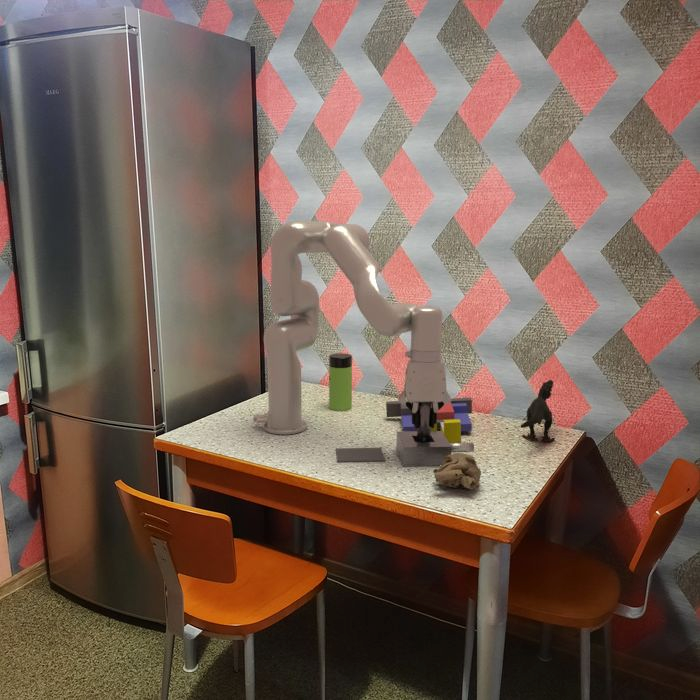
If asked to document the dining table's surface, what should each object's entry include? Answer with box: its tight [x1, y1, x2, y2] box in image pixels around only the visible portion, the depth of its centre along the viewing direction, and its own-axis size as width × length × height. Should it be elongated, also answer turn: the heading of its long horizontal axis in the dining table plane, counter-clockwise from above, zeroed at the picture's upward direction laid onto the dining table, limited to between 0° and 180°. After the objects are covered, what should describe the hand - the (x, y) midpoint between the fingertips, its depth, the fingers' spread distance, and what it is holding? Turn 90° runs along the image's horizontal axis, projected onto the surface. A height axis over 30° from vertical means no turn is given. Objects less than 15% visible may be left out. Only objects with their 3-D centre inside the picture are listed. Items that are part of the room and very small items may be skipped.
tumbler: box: [328, 352, 353, 412], centre depth 205 cm, size 8×8×17 cm
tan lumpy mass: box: [433, 452, 482, 490], centre depth 146 cm, size 7×11×15 cm
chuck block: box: [395, 430, 475, 468], centre depth 164 cm, size 19×12×5 cm, turn 94°
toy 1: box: [385, 397, 473, 443], centre depth 187 cm, size 26×9×30 cm
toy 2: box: [520, 379, 556, 444], centre depth 175 cm, size 9×28×15 cm, turn 151°
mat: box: [335, 447, 386, 463], centre depth 165 cm, size 12×9×1 cm
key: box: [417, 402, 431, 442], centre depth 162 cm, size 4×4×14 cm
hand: (423, 425), depth 163 cm, fingers closed on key, 3 cm apart
